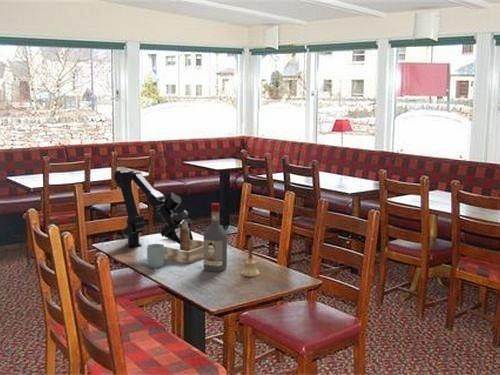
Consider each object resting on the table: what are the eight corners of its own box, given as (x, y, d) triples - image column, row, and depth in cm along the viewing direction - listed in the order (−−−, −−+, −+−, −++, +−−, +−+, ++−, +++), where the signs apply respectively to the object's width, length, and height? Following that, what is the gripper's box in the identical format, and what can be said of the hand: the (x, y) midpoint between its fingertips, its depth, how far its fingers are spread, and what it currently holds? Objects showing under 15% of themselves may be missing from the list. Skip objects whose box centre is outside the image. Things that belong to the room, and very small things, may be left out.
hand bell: (242, 276, 268) (243, 241, 266) (239, 271, 276) (240, 236, 274) (261, 276, 270) (262, 240, 267) (257, 270, 278) (258, 235, 275)
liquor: (209, 264, 285) (210, 201, 280) (228, 267, 282) (228, 202, 277) (201, 270, 276) (201, 204, 271) (220, 272, 273) (221, 206, 268)
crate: (161, 259, 293) (161, 246, 292) (187, 249, 309) (187, 238, 308) (188, 264, 284) (188, 252, 283) (213, 254, 301) (213, 243, 300)
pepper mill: (178, 254, 299) (178, 220, 296) (187, 253, 301) (187, 219, 298) (182, 256, 295) (182, 222, 292) (191, 255, 297) (191, 221, 294)
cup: (166, 265, 283) (166, 244, 282) (162, 270, 276) (162, 248, 274) (149, 264, 284) (149, 243, 282) (145, 269, 276) (145, 247, 275)
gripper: (164, 209, 288) (183, 235, 284) (189, 202, 304) (207, 227, 300) (152, 223, 294) (170, 249, 290) (177, 216, 309) (194, 241, 305)
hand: (186, 241), depth 296 cm, fingers open, 9 cm apart
